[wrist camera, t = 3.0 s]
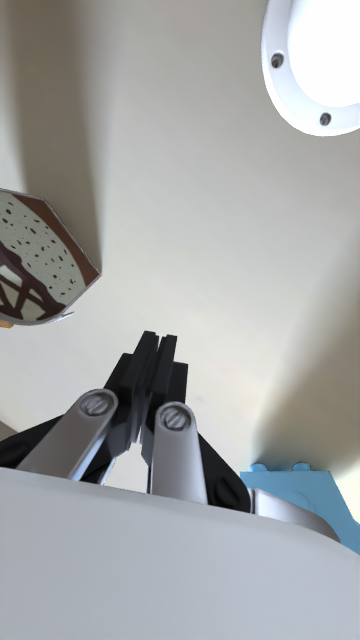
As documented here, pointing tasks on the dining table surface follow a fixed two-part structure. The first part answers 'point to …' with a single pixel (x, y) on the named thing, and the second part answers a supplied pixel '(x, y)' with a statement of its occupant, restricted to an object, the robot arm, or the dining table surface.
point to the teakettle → (309, 496)
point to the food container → (38, 262)
